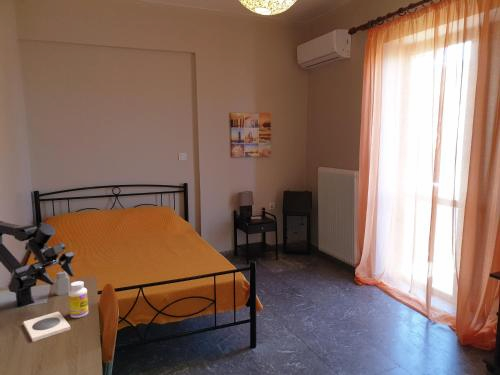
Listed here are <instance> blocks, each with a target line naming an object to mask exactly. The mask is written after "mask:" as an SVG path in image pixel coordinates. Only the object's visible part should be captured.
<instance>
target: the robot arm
mask: <svg viewBox="0 0 500 375" xmlns="http://www.w3.org/2000/svg"><path fill="white" fill-rule="evenodd" d="M55 233H56V228H55V227H54V226H53V225H51V224H47V223H46V222H45V221H43V222H40V223H39V224H38V226H37V225H35V224H23V225H19V224H14V223H9V222H4V220H0V263H1V264H2V265H3V266H4V268H5V269H6V270H7V271H8V272H9V273H10V281H11V283H10V284H9V285H8V290H9V292H11V293H14V294H15V300H14V301H13V302H14V305H15V306H16V308H18V307H22V306H25V305H29V304H33V303H35V299H34V298H33V295H32V287H36V286H37V280H39V281H40V282H44V283H46V284H48V285H50V286H54V284H55V282H54V281H53V279H52V278H51V276H49V274H48V273H47V269H48V268H50V267H53V266H56V265H59V266H60V268H61V270H62V271H63V270H64V272H66V273H67V276H69V277H74V271H73V268H72V260H73V259H74V257H75V254H74V253H73V251H70V250H69V251H67V252H64V250H66V245H65V244H64V242H59V243H56V245H54V246H48V245H47V243H49V242H50V240H51V239H52V238H53V236H54V235H55ZM3 235H9V236H13V237H14V239H15V240H17V241H19V242H25V247H24V250H25V251H28V250H29V251H30V252H31V253H32V254H33V256H34V258H33V259H34V261H37V262H35V263H32V264H26V265H23V264H22V263H21V262H20V261H19V259H17V258H16V257H15V256H14V255H13V253H12V252H11V251H10V250H9V249H8V247H6V245H4V243H3ZM26 241H27V242H26ZM61 253H62V254H61ZM60 254H61V255H60Z"/></svg>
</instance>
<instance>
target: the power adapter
mask: <svg viewBox="0 0 500 375" xmlns="http://www.w3.org/2000/svg"><path fill="white" fill-rule="evenodd" d="M55 276H56V278H54V284H55V294H56V296H57V295H59V296H63V295H66V293H69V291H70V290H71V283H70V275H68V274H67V273H66V272H65V271H64V270H63V269H62V271H60V269H58V272H57V273H55ZM62 294H63V295H62Z"/></svg>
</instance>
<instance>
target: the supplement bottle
mask: <svg viewBox="0 0 500 375" xmlns="http://www.w3.org/2000/svg"><path fill="white" fill-rule="evenodd" d="M84 285H85V282H84V281H82V280H78V281H73V282H71V283H70V291H69V293H68V294H67V295H68V305H69V315H70V317H71V318H73V319H78V318H83V317H85V316H87V315H88V314H89V298H88V289H87V288H86V287H84Z"/></svg>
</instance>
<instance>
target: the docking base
mask: <svg viewBox="0 0 500 375" xmlns="http://www.w3.org/2000/svg"><path fill="white" fill-rule="evenodd" d="M23 326H24V328H25V330H26V332H27V334H28V335H29V338H30V339H31V341H32V343H33V342H37V341H39V340H43V339H45V338H48V337H52V336H54V335H55V336H56V335H58V334H60V333H64V332H67V331H70V330H71V329H72V328H71V325H70V324H69V323H68V321H67V320H66V319H65V317H64V316H63V315H62V313H61V312H60V311H55V312H52V313H48V314H44V315H42V316H38V317H35V318H31V319H28V320H24V321H23Z"/></svg>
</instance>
